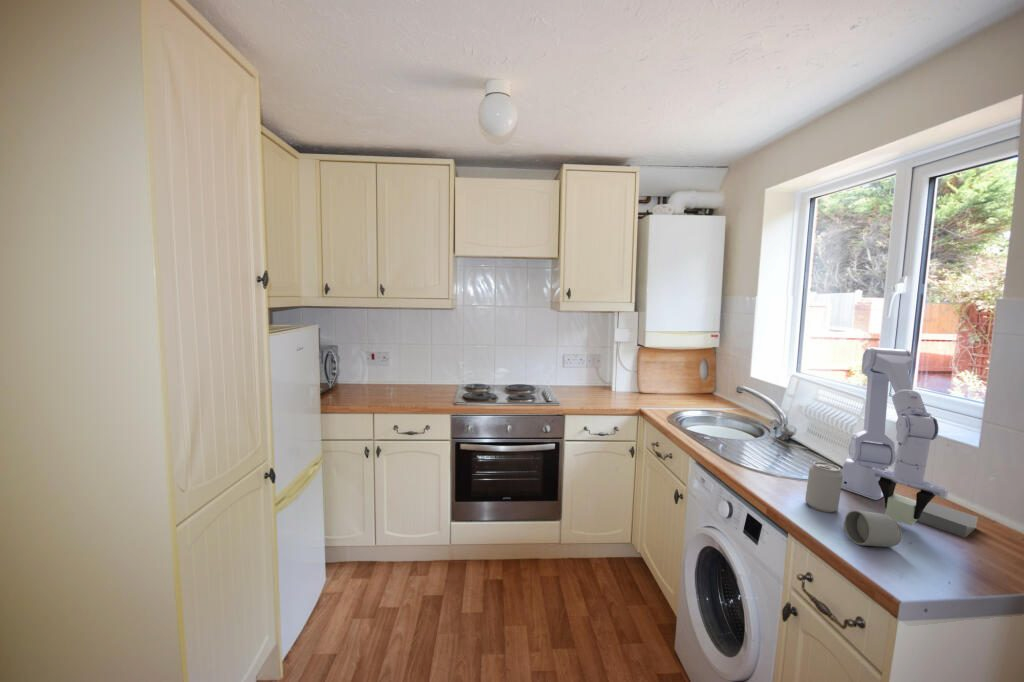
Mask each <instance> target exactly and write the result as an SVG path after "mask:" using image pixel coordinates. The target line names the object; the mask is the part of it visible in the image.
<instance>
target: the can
mask: <svg viewBox="0 0 1024 682" xmlns="http://www.w3.org/2000/svg"><path fill="white" fill-rule="evenodd" d="M842 479H843V474H842V469H841V468H840V466H838V465H835V464H832V463H829V462H824V461H814V462H813V463H812V465H811V466H810V467H809V472H808V477H807V483H806V491H805V502H806V503H807V504H808V506H810V507H811V508H812V507H813V509H814V510H817V511H819V510H820V512H824V513H833V512H836V511H838V510H839V505H840V498H841V491H842V488H841V486H842Z"/></svg>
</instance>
